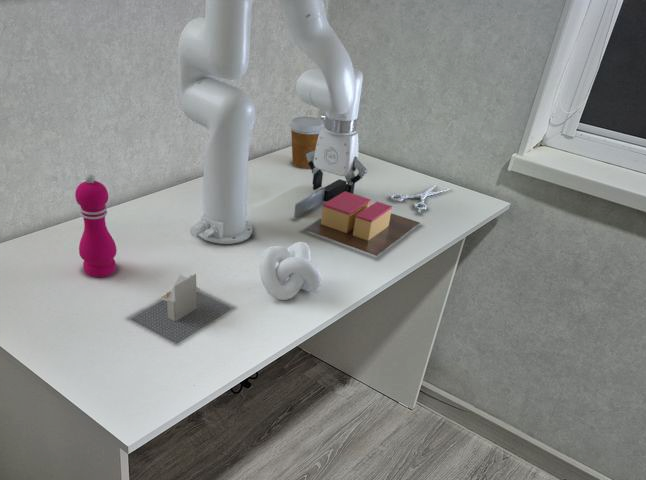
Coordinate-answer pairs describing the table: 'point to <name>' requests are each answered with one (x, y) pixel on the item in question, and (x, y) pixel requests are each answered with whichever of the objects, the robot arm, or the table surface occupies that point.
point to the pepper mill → (95, 229)
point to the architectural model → (181, 311)
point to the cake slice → (372, 220)
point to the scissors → (421, 196)
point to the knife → (320, 196)
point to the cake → (343, 211)
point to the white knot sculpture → (288, 271)
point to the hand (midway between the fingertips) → (332, 193)
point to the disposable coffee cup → (304, 138)
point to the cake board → (375, 244)
